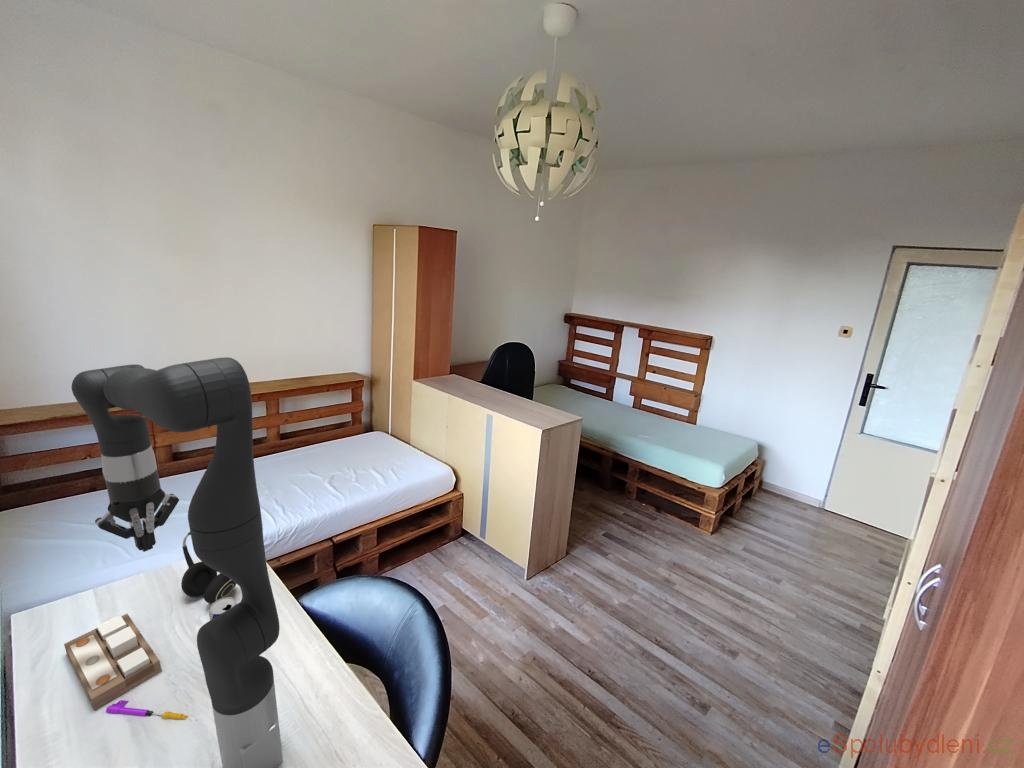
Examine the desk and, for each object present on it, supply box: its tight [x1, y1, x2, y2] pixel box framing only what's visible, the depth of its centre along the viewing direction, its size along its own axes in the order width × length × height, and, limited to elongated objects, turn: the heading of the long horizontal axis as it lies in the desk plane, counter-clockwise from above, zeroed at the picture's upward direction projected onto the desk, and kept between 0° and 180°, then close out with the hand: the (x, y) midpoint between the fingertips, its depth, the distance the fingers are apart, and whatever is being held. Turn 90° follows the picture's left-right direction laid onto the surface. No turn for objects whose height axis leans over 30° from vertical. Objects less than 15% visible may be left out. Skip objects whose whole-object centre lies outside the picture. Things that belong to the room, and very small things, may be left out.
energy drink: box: [208, 596, 238, 621], centre depth 101 cm, size 5×5×12 cm
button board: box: [63, 613, 163, 711], centre depth 97 cm, size 20×11×4 cm, turn 55°
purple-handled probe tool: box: [105, 699, 188, 721], centre depth 88 cm, size 3×1×16 cm
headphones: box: [180, 531, 237, 605], centre depth 114 cm, size 9×15×20 cm, turn 74°
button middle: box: [105, 626, 138, 659], centre depth 97 cm, size 4×4×3 cm
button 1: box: [96, 614, 127, 642], centre depth 102 cm, size 4×4×3 cm
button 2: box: [117, 648, 150, 678], centre depth 94 cm, size 4×4×3 cm
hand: (146, 548), depth 88 cm, fingers closed
